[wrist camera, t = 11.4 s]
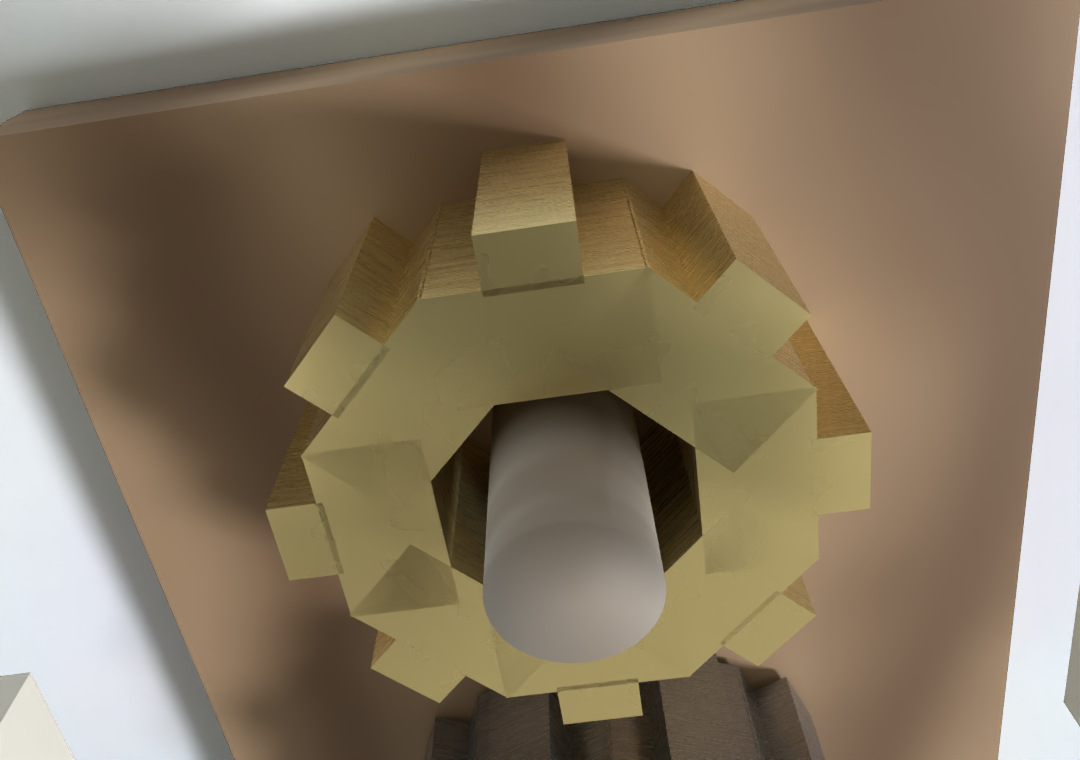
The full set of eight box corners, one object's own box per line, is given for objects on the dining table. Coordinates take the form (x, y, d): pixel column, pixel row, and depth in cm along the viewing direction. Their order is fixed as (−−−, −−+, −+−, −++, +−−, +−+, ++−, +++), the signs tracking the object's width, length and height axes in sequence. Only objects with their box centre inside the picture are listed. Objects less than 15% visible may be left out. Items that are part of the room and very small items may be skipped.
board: (323, 870, 29) (258, 1205, 22) (25, 110, 18) (-287, 283, 11) (956, 803, 28) (1102, 1132, 21) (1027, -44, 17) (1373, 41, 10)
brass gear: (376, 598, 21) (347, 749, 18) (255, 184, 17) (185, 276, 13) (809, 545, 21) (866, 689, 17) (800, 103, 16) (876, 177, 13)
